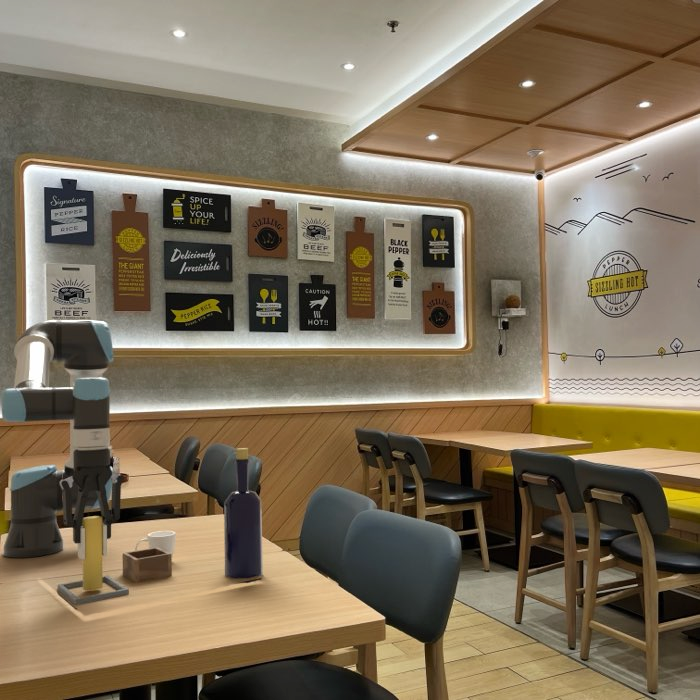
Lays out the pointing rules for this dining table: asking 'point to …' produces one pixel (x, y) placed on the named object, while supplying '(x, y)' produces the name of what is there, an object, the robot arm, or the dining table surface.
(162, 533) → the cup
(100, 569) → the dowel
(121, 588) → the tray
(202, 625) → the dining table surface
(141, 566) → the holder
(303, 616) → the dining table surface
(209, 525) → the dining table surface
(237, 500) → the bottle
